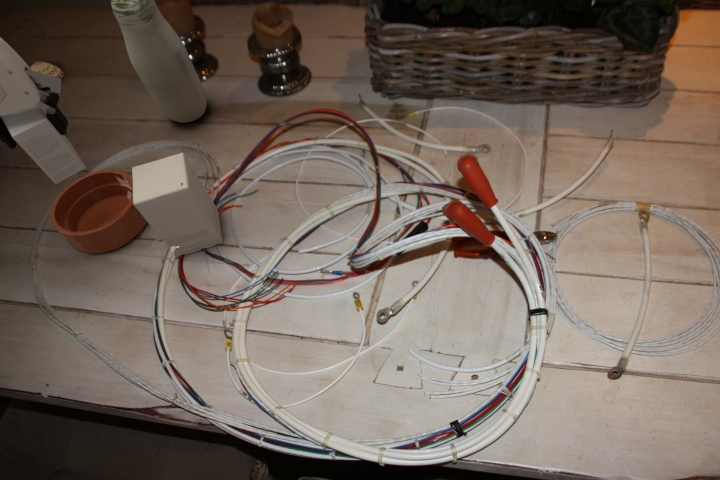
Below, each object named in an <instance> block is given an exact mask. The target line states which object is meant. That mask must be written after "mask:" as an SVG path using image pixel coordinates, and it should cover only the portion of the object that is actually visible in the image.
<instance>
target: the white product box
mask: <svg viewBox="0 0 720 480" xmlns="http://www.w3.org/2000/svg"><path fill="white" fill-rule="evenodd" d="M131 171H132V175H131V176H132V177H133V205H134V206H135V207H136V208H137V209H138V211H139V212H140V213H141V214H142V216H143V217H144V218H145V219H146V221H147V223H148V224H149V226H150V227H151V228H152V229H153V231H154V232H155V233H156V235H157V236H158V237H159V238H160V240H161V241H162V243H164V245H165V246H166V247H167V249H168V250H170V247H172V246H180V247H179V248H176V249H175V251H174V255H173V256H174V257H175V256H179V255H183V254H185V255H184V256H187V255H190V254H193V253H196V252H199V251H202V250H201V249H202V248H206V249H209V248H211V247H215V246H216V245H215V244H219V245H221V244H223V243H224V239H223V231H222V226H221V220H220V214H219V209H218V207H217V205H216V204H215V202H214V201H213V199H212V198H211V197H212V196H210V194H209V192H208V190H207V189H206V188H205V186H204V184H203V182H202V181H201V179H200V178H199V176H198V174H197V172H196V171H195V169H194V168H193V166H192V164H191V163H190V161H189V159H188V158H187V155H186V154H185V152H180V153H177V154H172V155H170V156H166V157H163V158H160V159H155V160H153V161H149V162H146V163H142V164H140V165H136V166H132V167H131ZM217 209H218V210H217Z"/></svg>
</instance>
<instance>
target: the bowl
mask: <svg viewBox="0 0 720 480" xmlns="http://www.w3.org/2000/svg"><path fill="white" fill-rule="evenodd" d="M49 219H50V222H51V225H52V227H53V228H54V229H55V230H56V231H57V232H58V233H59V234H60V235H61V236H62V237H63V238H64V239H65V240H66V241H67V242H68V243H69V244H70V245H71V246H73V247H74V248H75V249H76V250H78V252H79V251H80V252H83V253H87V254H102V253H105V252H110V251H113V250H116V249H119V248H120V247H122V246H124V245H126V244H128V243H130V241H132V240H133V239H134V238H135V237H136V236H137V235H139V234H140V233H141V231H142V230H143V229H144V227H146V225H147V223H148V222H147V221H146V219H145V218H144V217H143V216H142V214H141V213H140V212H139V211H138V209H137V208H136V207H135V206H134V205H133V176H132V175H130V174H129V173H127V172H126V171H123V170H118V169H114V168H113V169H112V168H111V169H100V170H97V171H96V170H95V171H93V172H89V173H86V174H85V175H83V176H81V177H79V178H76V179H75V180H74V181H72V182H71V183H69V184H68V185H67V186H65V187H64V188H63V189H62V190H61V191H60V193H59V194H58V195H57V196H56V198H55V199H54V201H53V203H52V204H51V207H50V214H49Z"/></svg>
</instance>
